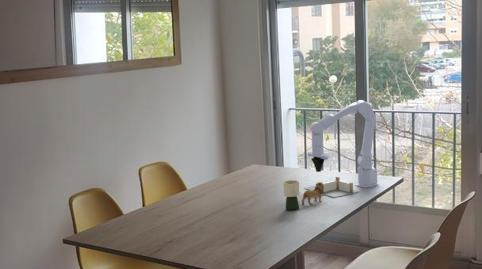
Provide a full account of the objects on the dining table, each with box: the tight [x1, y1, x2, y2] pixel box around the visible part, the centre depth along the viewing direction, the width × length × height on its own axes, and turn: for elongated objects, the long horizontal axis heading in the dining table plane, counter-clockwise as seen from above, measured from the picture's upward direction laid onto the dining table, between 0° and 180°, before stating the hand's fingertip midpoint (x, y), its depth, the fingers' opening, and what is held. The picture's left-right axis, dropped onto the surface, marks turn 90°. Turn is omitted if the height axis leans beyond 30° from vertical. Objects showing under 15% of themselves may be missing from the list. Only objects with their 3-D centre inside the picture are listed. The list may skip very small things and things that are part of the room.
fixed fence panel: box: [335, 176, 354, 193], centre depth 305 cm, size 12×2×6 cm, turn 31°
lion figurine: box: [301, 181, 324, 206], centre depth 287 cm, size 15×5×9 cm, turn 133°
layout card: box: [303, 185, 360, 199], centre depth 308 cm, size 16×24×1 cm, turn 31°
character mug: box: [283, 179, 300, 211], centre depth 279 cm, size 11×7×13 cm, turn 20°
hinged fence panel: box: [321, 180, 337, 192], centre depth 306 cm, size 11×2×5 cm, turn 124°
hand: (318, 171), depth 313 cm, fingers closed
